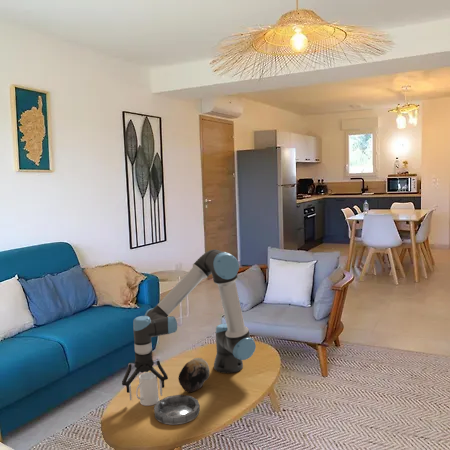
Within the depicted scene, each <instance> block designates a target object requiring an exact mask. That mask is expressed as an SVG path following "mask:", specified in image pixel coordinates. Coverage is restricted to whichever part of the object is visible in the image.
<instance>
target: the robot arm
mask: <svg viewBox="0 0 450 450" xmlns="http://www.w3.org/2000/svg"><path fill="white" fill-rule="evenodd" d="M239 270H240V263H239V260H238V259H237V258H236V256H234V255H233V254H231V253H229V252H226V251H222V250H219V249H210V250H208V251H206V252H205V253H203V254H202V255H201V256H200V257H199V258H197V260H195V262H194V263H193V264H192V267H191V269H190V270H189V271H188V272H187V273H186V274H185V275H184V276H183V277H182V278H181V280H179V282H178V283H177V284H175V286H173V288H172V289H171V290H170V291H169V292H168V293H167V294H166V295H165V296H164V297H163V298H162V299H161V300H160V301H159V303H157V304H156V305H155V306H154V307H153V308H152V307H151V308H149V309H148V310H146V312H145V314H144V315H141V316H140V315H139V316H136V317H135V318H134V319H133V323H132V324H133V325H132V326H133V328H132V329H133V338H134V340H133V341H134V344H133V345H134V352H135V353H134V358H135V359H134V360H135V362H134V363H133V362H129V363H128V365H127V369H126V372H125V374H124V377H123V378H122V381H121V385H122V387H123V386H126V393H127V394H129V401H132V398H133V397H132V382H133V381H134V380H135V378H137V375H139V373H141V374H143V373H146V372H152V373H153V374H155V375H156V376H157V379H159V394H160V396H161V397H162V396H163V389H164V388H165V381H166V380H168V379H169V376H168V374H167V372H166V371H165V370H164V368H163V366H162V365H161V361H160V359H159V358H157V359H156V360H153V351H152V350H153V347H152V338H155V337H159V336H165V335H170V334H171V335H172V334H173V333H176V332H177V330H178V321H177V319H176V317H175V316H170V314H172V312H173V311H174V310H175V309H176V308H177V307H178V306H179V305H180V304H181V303H182V302H183V301H184V300H185V298H187V297H188V295H189V294H190V293H191V292H192V291H193V290H194V289H195V288H196V287H197V286H198V285H199V284H200V283H201V282H202V280H203V279H208V277H209V276H210V275H211V276H212V280H213V283H214V284H215V285H217V288H218V293H219V297H220V301H221V306H222V307H221V308H222V309H223V314H224V319H225V323H221V324H217V326H216V327H215V341H216V342H215V344H216V347H215V348H216V355H215V359H214V362H213V369H214V370H215V372H218V373H221V374H222V373H223V374H232V373H233V374H234V373H238V372H240V371H241V370H242V369H243V367H244V362H243V361H247V360H249V359H250V358H251V357H252V356H253V355H254V353H255V352H256V345H257V344H256V342H255V341H254V338H252V337H251V335H250V330H249V327H247V326H246V325H245V321H244V317H243V312H242V307H241V303H240V297H239V293H238V288H237V283H236V282H237V280H238V272H239ZM154 365H155V366H157V368H158V369H159V371H160V373H159V372H158V370H156V368H154ZM134 368H135V370H134V371H133V372H132V374H131V371H132V369H134ZM130 374H131V375H130ZM129 376H130V377H129Z"/></svg>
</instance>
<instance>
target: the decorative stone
mask: <svg viewBox="0 0 450 450" xmlns="http://www.w3.org/2000/svg"><path fill="white" fill-rule="evenodd" d="M210 374H211V373H210V366H209V363H208V362H207V361H206V359H204V358H202V357H195V358H193V359H191V360H189V361H188V362H186V364H184V365H183V367H182V368H181V370H180V372H179V374H178V377H177V378H178V383H179V385H180V386H181V387H182V389H183V391H185V392H186V393H194V392H196V391H198V390H200V389H201V388H202V387H203V385H204V383H205V382H206V381H207V380H208V379H209V378H210Z"/></svg>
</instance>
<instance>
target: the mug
mask: <svg viewBox="0 0 450 450" xmlns="http://www.w3.org/2000/svg"><path fill="white" fill-rule="evenodd" d="M138 380H139V381H138V382H139V384H137V387H136V390H135V395H136V398H137V399H138V400H139V403H140V405H142V406H145V407H148V406H150V407H151V406H155V405H156V404H157V402H158V401H159V400H160V398H159V387H158V386H159V385H158V377H157V376H156V375H155V374H153V373H152V372H151V371H148V372H143V373H141V374H139V376H138ZM138 392H139V393H138ZM139 395H140V396H139Z"/></svg>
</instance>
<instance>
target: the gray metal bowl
mask: <svg viewBox="0 0 450 450" xmlns="http://www.w3.org/2000/svg"><path fill="white" fill-rule="evenodd" d="M200 408H201V407H200V403H199V400H198V399H197V398H195V397H193V396H192V395H186V394H175V395H170V396H167V397H164V398H161V399H159V401H158V402H157V403H156V404H154V405H153V411H154V412H153V413H154V418H155V420H156V421H158V422H159V423H161V424H164V425H169V426H177V425H178V426H179V425H184V424H187V423H189V422H191V421H193V420H195V419H196V418H197V417H198V416H199V414H200V412H201V411H200V410H201V409H200Z"/></svg>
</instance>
